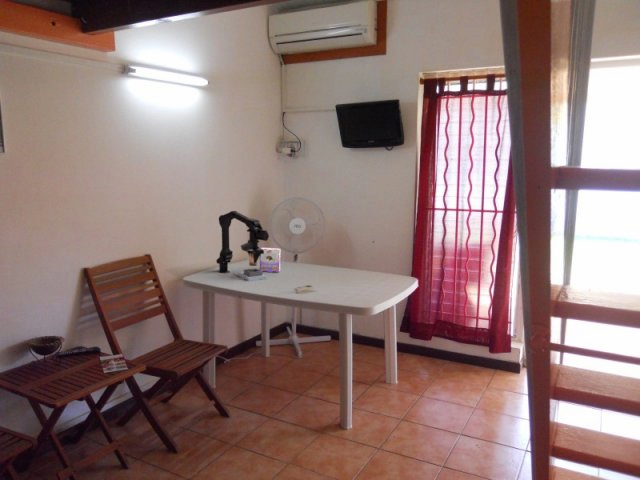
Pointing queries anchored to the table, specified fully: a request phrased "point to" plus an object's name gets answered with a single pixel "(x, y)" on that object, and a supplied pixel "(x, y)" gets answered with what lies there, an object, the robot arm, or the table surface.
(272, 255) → the candy box
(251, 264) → the copper canister
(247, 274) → the grey square socket base
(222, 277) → the table surface
